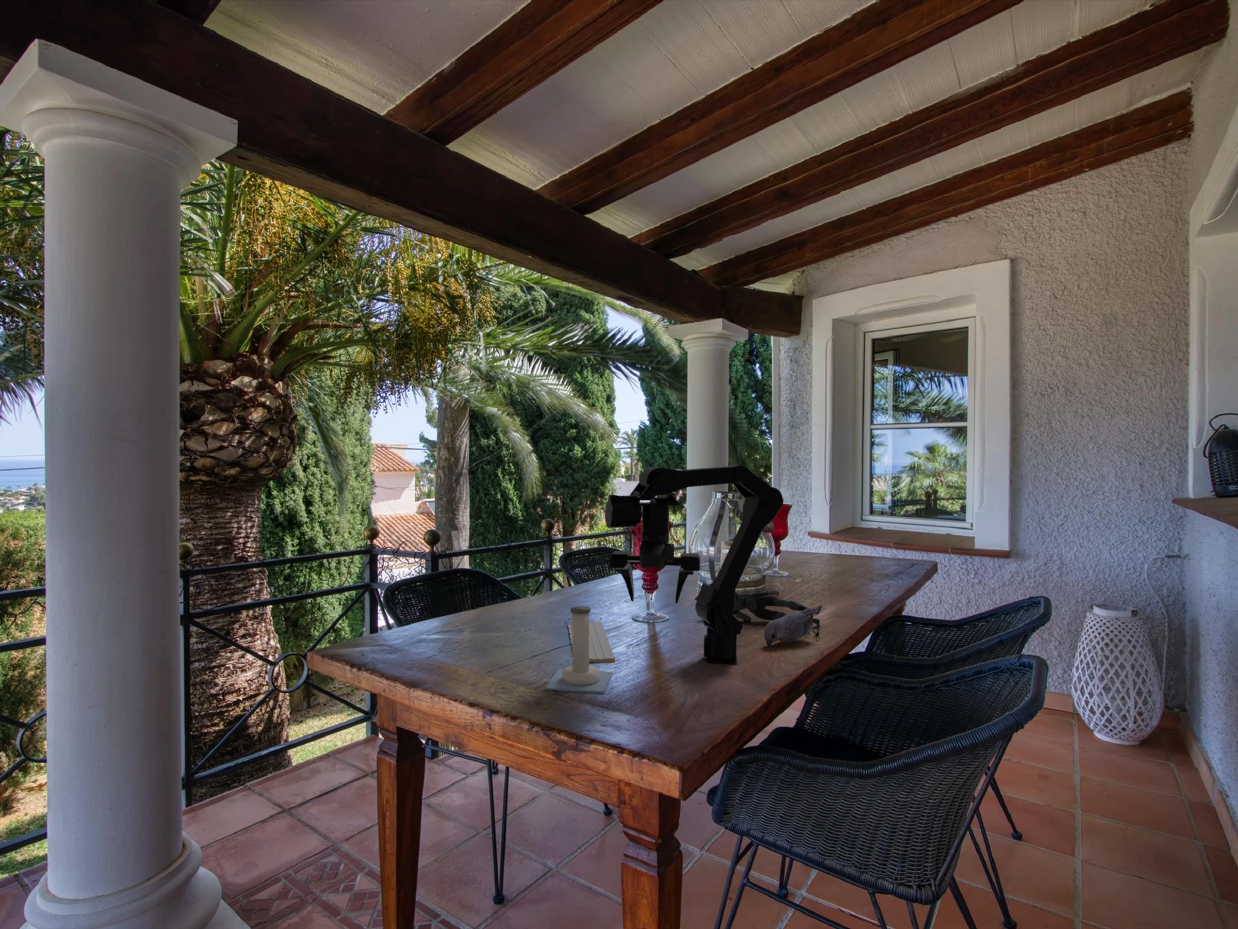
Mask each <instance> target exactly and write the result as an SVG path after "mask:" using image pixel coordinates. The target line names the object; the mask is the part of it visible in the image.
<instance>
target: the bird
mask: <svg viewBox="0 0 1238 929" xmlns="http://www.w3.org/2000/svg"><path fill="white" fill-rule="evenodd" d="M807 608H808V609H805V610H803V611H796V612H795V611H794V612H791V613H786V614H787V615H785V616H784V617H782V618H779V619H776V620H769V622H768V623H767V625H766V626H765V628H764V632H763V637H764V639H765V640H764V641H765V643H766V645H767V647H768V646H771V645H772V644H773V643H774V642H778V641H779V642H780V643H793V642H795V641H798V640H799V639H801V638H804V637H808V636H809V637H811V634H810V632H812V633H813V634H814V635H813V639H814V638H815V639H817V638H818V639H819V640H821V638H820V629H821V627H819V628H818V629H817V632H816V631H815V630H814V629H813V625H814V623H813V619H814V615H816V614H815V613H817V612H818V611H819V610H818V609H816V607H815V606H814V607H807Z"/></svg>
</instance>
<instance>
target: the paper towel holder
mask: <svg viewBox="0 0 1238 929" xmlns="http://www.w3.org/2000/svg"><path fill="white" fill-rule="evenodd" d="M590 612H591V607H590V606H586V605H576V606H572V607H570V613H571V623H572V645H571V650H572V651H571V652H572V656H571V657H572V658H571V660H572V663H571V664H572V666H567V667H565V668H562V669H563V682H565V683H567V684H571V685H588V684H593V683H595V682H597V681H598V680H599V671H600V669H599V668H598V667H596V666H592V665H590V663H589V622H590Z"/></svg>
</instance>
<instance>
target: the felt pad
mask: <svg viewBox="0 0 1238 929" xmlns="http://www.w3.org/2000/svg"><path fill="white" fill-rule="evenodd" d="M563 669H564V668H558V669H557V671H556V673H555V674H554V675H553V676H552V678H551V679H550V681H549V682H548V684H546V686H545V687H544V688H545V689H546V690H545V689H544V690H545V691H552V690H557V691H556V692H568V691H569V692H572V693H585V694H586V693H587V694H601V695H604V694H605V693H606V690H607V688H608V685H609V684H610V681H611V679H612V678H613V674H614V672H613V671H604V670H603V671H602V670H599V680H598V681H597V682H595V683H593V684H588V685H571V684H567V683H565V682H563ZM547 689H548V690H547ZM569 692H568V693H569Z"/></svg>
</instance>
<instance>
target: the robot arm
mask: <svg viewBox="0 0 1238 929" xmlns="http://www.w3.org/2000/svg"><path fill="white" fill-rule="evenodd" d="M638 481H639V482H638V483H637V484H636V486H635V487H634V488H633V490H632V491H631V492H630V494H629V495H617V494H608V496H607V499H608V500H607V502H606V505H605V510H604V520H605V525H606V528H608V529H624V528H625V529H631V528H636V527H637V525H638V524H640V523H641V542H640V544H639V555H631V554H632V553H631V551H629V550H628V551H627V550H626V551H625V550H623V551H622V550H614V551H613V552H612V553H611V554H609V556H608V568H609V569H612V568H613V569H614V571H615V573H619V574H620V575H621V577H622V578H623V582H624V583H625V586H626V589H627V592H628V595H629V597H630V598H629V599H630V602H634V600H635V588H634V574H633V573H634V572H633V565H639V566H640V567H641V569H648V568H650V569H651V568H656V570H657V569H663V568H664V567H665V566H671V567H672V566H674V567H679V571H678V577H677V578H678V579H677V583H676V591H675V604H678V603H679V600H680V596H681V593H682V590H683V587H684V584H685V582H686V580H687V578H688V576H691V575H694V573H695V572H700V571H701V555H699V554H698V553H692V552H691V553H690V552H689V553H687V552H684V553H683V552H681V555H680V556H675V544H674V543H670V507H671V506H674V507H675V506H676V507H677V506H679V505H680V502H679V501H678V500H677V499H676V498H675V497H674V496H673V494H672V493H675V492H679V491H680V490H683V489H687V488H692V487H693V488H694V487H706V486H714V485H715V486H717V485H728V484H732V485H733V487H734V488H735V489H736V491H737V492H738V494H740V496H741V497H743V498H744V502H743V506H742V520H741V522H740V525H739V527H738V530H737V532H736V533H735V536H734V538H733V540H732V542H731V544H730V547H729V549H728V552H727V553H726V556H725V557H724V560H723V562H722V564H721V566H720V569H719V571H718V572H717V573H718V574H717V575H716V577H715V579H714V580H713V581H712V582H711V583H710V584H706V583H704V582H702V584H701V587H700V590H699V593H698V595H697V596H696V597H695V598H694V600H695V601H696V603H695V606H694V608H695V612H696V615H697V617H699V618H700V619H701V620H702V623H703V626H704V627H706V634H703V657H704V658H705V662H707V663H719V664H720V663H721V664H722V663H723V664H738V656H737V645H738V644H737V641H738V640H737V639H738V635H740V634H741V633H742V629H743V624H742V622H740V620H739V619H738V618H736V616H735V615H732V614H733V610H734V606H735V592H736V589H737V587H738V584H739V582H740V581H741V578H742V575H743V573H744V571H745V570H746V567H747V565H748V563H749V560H750V558H751V556H752V554H753V552H754V549H755V548H756V545H757V543H758V541H759V538H760V537H761V534H762V532H763V530H764V529H765V528H766V527H767V526H768V525H769V524H770V523H771V522H773V521H774V520H775V518H776V516H777V515H778V513H780V511H781V509H782V508H783V506H784V497H783V493H782V492H781V491H780V490H779V489H778V488H776V487H774V486H771V485H769V484H768V482H766V481H765V480H763V479H762V478H760V477H759V476H757V475H756V474H755V473H753V472H752V471H751V470H750V469H749V468H748V467H747V466H746V465H743V464H730V465H727V466H726V465H725V466H716V467H715V466H714V467H702V468H701V467H700V468H691V469H690V468H689V469H687V468H686V469H679V468H671V467H662V466H661V467H659V466H648V467H646V468H644V469H643V470H642V472H641V473H640V475H639V479H638ZM658 496H660V497H658ZM661 496H664V497H661ZM640 501H641V502H640ZM642 501H643V502H642Z"/></svg>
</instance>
